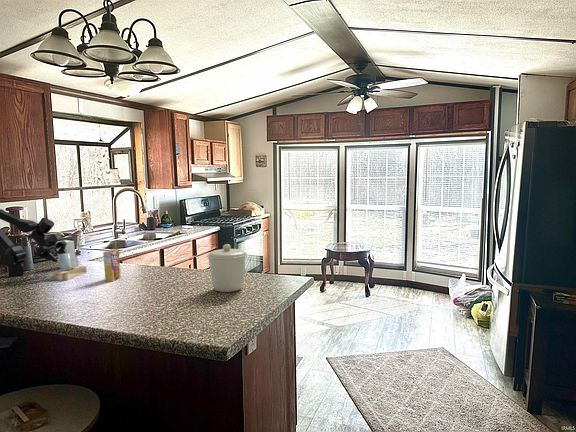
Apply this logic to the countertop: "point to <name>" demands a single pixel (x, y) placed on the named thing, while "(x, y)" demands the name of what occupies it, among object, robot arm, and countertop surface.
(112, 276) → the candy box
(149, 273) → the countertop surface
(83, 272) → the oak stand
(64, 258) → the slate jar
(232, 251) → the canister
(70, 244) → the skincare box
